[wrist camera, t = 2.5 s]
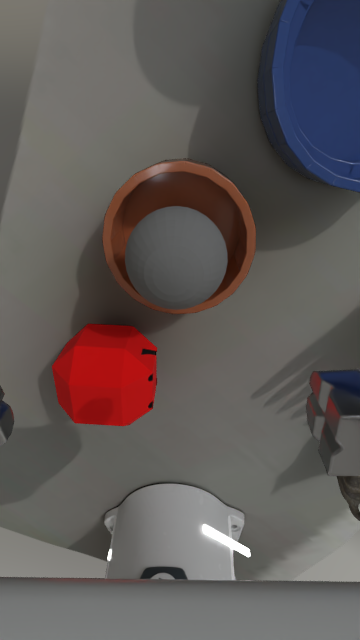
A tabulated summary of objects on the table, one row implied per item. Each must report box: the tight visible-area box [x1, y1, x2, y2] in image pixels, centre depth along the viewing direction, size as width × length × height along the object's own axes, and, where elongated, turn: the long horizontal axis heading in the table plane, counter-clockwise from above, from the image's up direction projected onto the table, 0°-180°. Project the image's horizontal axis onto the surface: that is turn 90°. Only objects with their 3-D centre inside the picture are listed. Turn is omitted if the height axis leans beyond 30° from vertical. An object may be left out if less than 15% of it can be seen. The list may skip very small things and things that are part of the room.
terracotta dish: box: [102, 158, 256, 314], centre depth 24 cm, size 10×10×4 cm
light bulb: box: [125, 206, 228, 310], centre depth 21 cm, size 6×6×10 cm
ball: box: [52, 324, 157, 426], centre depth 28 cm, size 8×8×8 cm
